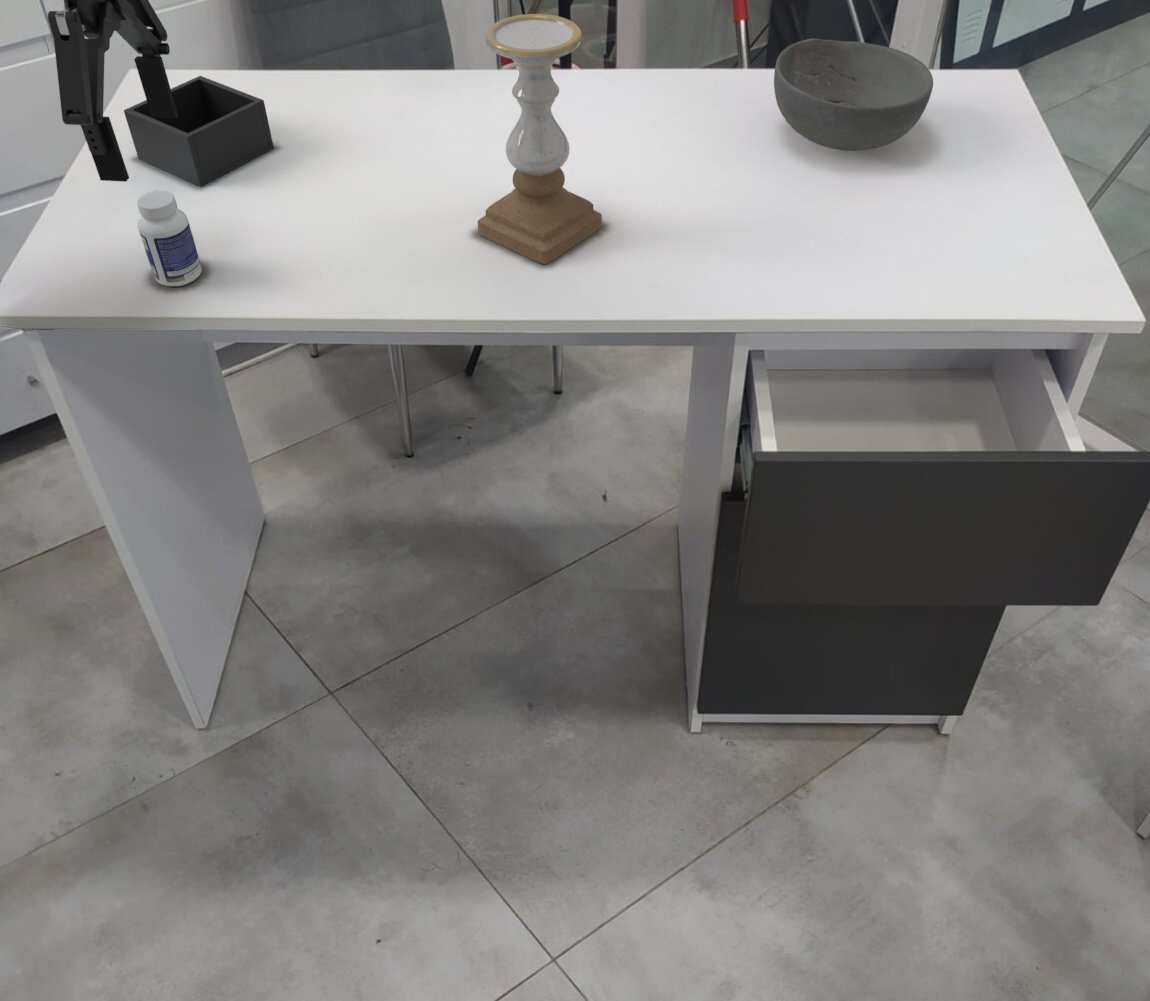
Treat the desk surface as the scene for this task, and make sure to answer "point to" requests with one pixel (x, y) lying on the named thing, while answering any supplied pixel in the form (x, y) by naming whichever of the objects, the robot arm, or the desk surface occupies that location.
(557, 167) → the candle holder
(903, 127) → the bowl
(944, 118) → the desk surface
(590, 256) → the desk surface
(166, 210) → the pill bottle
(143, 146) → the basket
